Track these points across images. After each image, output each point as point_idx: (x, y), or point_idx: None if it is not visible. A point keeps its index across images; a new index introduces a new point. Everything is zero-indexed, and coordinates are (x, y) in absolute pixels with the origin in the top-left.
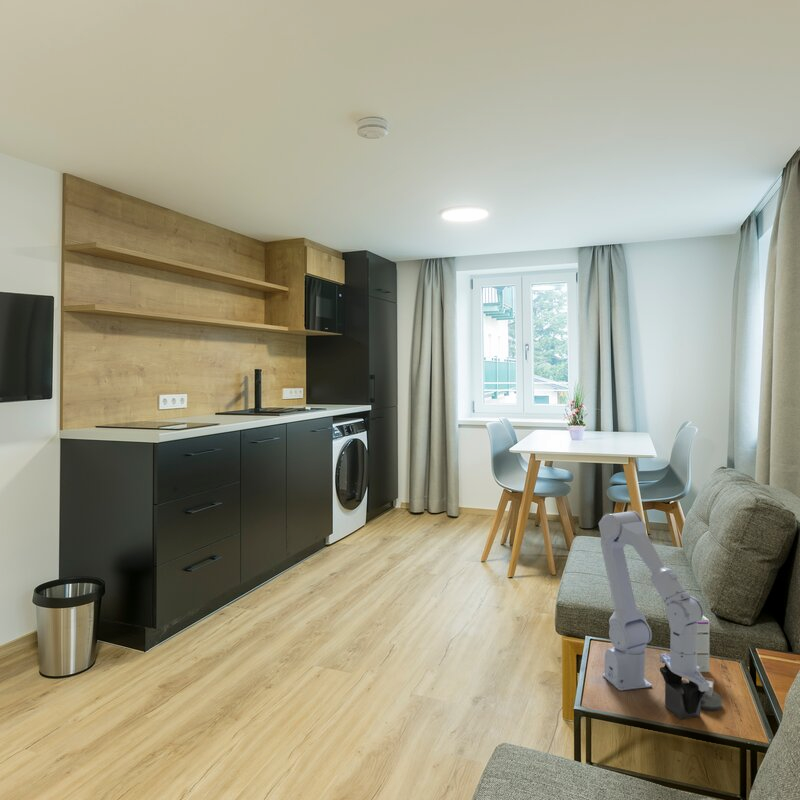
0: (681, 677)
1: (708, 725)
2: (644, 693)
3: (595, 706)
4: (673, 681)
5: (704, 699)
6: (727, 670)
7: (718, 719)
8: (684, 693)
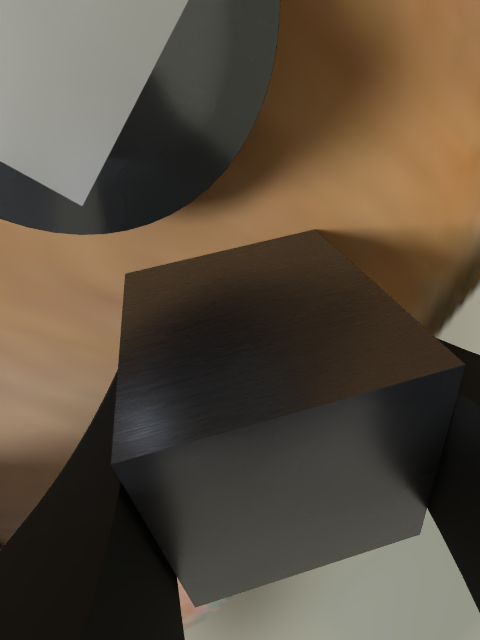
0: (119, 537)
1: (422, 226)
2: (8, 476)
3: (184, 609)
4: (179, 563)
5: (191, 112)
6: None
7: (385, 80)
8: (441, 521)
